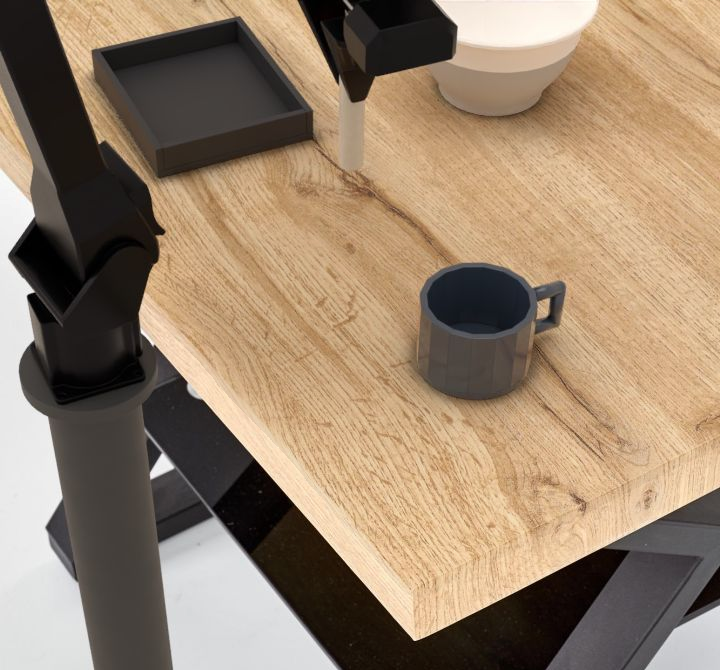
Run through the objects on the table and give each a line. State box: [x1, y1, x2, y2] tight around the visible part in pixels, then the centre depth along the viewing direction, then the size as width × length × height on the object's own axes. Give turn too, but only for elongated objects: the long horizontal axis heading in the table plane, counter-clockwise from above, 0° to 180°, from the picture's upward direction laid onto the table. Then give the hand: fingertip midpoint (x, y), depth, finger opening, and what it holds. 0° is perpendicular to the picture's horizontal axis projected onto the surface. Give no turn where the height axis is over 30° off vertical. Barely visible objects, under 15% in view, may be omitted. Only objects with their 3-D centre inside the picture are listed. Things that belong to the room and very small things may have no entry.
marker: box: [337, 75, 366, 172], centre depth 108 cm, size 2×2×11 cm
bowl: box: [424, 0, 600, 117], centre depth 128 cm, size 16×16×8 cm
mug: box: [415, 261, 567, 401], centre depth 107 cm, size 11×8×6 cm
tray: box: [90, 15, 314, 179], centre depth 128 cm, size 13×15×3 cm
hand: (351, 92), depth 107 cm, fingers closed on marker, 2 cm apart
